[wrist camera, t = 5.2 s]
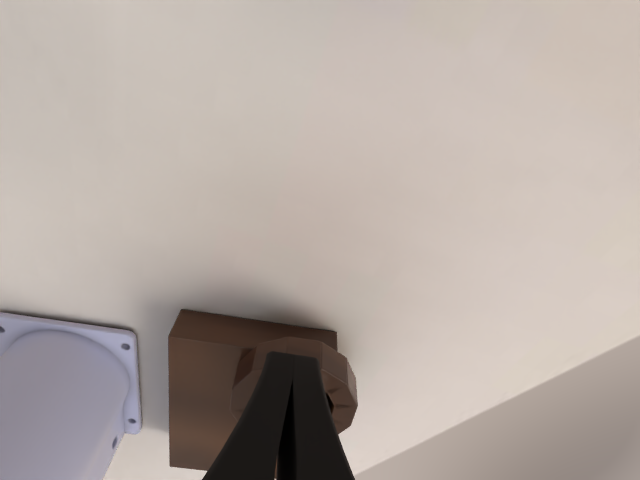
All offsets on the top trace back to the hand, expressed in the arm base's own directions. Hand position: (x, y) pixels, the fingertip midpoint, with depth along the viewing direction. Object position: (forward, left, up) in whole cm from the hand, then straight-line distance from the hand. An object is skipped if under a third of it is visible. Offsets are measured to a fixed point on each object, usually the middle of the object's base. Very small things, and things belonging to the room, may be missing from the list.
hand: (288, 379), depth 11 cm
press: (-13, +1, -10) cm, 17 cm away
